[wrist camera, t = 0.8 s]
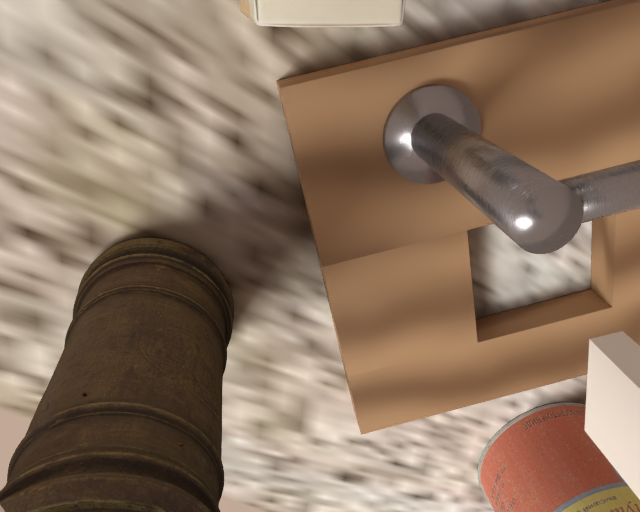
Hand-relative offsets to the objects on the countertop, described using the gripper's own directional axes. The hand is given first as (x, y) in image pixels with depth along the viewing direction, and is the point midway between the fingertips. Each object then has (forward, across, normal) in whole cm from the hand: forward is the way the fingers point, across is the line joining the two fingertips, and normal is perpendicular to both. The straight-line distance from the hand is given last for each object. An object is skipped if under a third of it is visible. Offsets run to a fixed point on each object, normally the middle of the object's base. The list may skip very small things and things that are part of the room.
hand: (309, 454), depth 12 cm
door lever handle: (+18, +11, +1) cm, 22 cm away
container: (+21, -8, -7) cm, 23 cm away
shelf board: (+21, +13, -7) cm, 25 cm away
